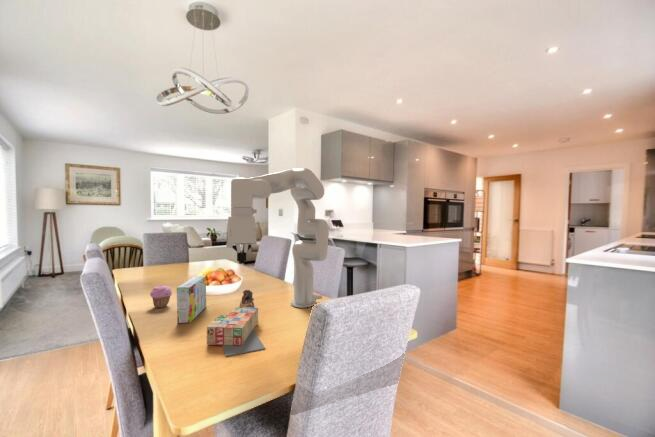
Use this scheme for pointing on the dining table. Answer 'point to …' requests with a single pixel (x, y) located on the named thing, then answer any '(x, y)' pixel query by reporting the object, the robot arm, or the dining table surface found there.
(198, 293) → the snack box
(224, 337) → the stack of blocks
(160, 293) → the cupcake
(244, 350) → the mat
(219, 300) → the dining table surface
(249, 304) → the figurine
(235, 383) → the dining table surface
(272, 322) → the dining table surface
